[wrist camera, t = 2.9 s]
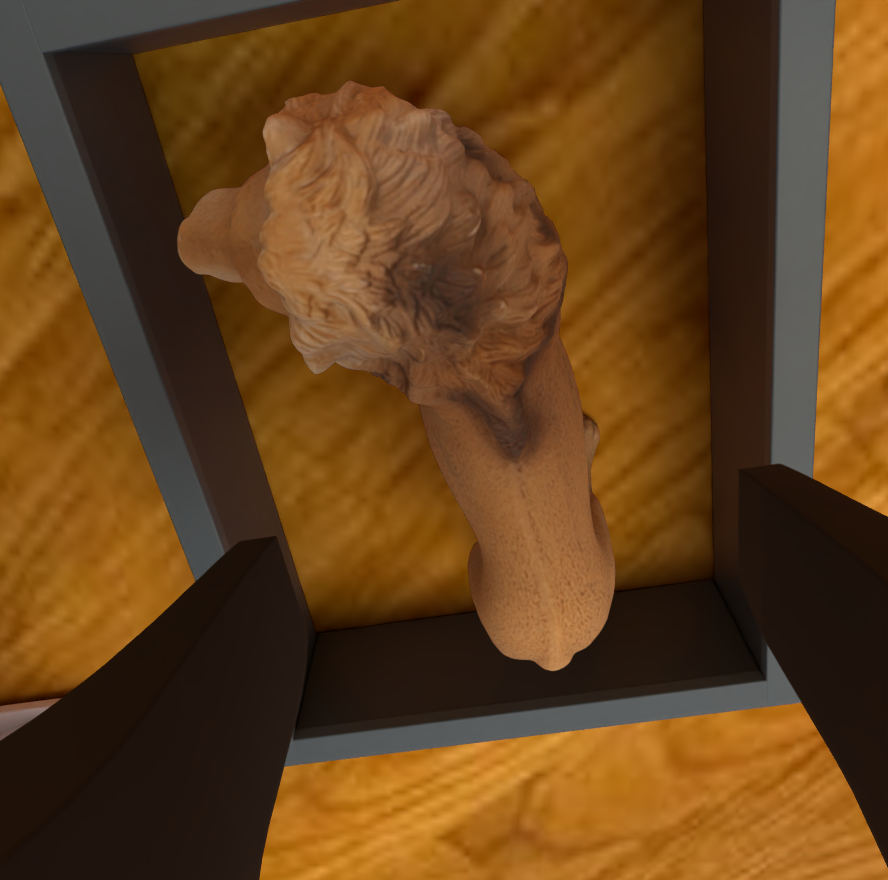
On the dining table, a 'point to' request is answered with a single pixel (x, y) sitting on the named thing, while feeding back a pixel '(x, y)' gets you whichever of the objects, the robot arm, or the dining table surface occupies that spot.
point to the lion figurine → (435, 332)
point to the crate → (231, 440)
